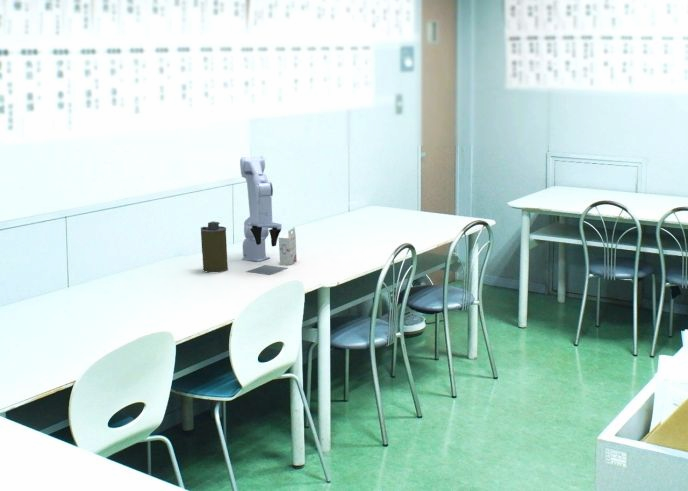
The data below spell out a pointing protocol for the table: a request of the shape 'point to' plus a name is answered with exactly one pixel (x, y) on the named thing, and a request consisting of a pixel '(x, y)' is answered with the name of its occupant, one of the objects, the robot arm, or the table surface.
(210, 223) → the canister
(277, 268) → the mat
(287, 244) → the ink cartridge box
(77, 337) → the table surface
